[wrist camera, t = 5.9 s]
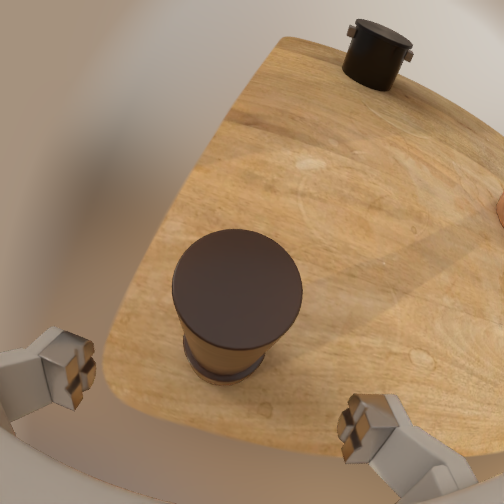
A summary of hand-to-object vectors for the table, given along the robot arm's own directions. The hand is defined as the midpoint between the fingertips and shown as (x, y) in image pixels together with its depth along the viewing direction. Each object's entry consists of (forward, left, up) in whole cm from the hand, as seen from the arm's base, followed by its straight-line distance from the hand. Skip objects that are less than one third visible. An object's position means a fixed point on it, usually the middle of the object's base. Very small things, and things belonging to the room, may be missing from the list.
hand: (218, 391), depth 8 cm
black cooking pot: (+7, +44, -8) cm, 45 cm away
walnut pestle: (0, +3, -8) cm, 8 cm away
